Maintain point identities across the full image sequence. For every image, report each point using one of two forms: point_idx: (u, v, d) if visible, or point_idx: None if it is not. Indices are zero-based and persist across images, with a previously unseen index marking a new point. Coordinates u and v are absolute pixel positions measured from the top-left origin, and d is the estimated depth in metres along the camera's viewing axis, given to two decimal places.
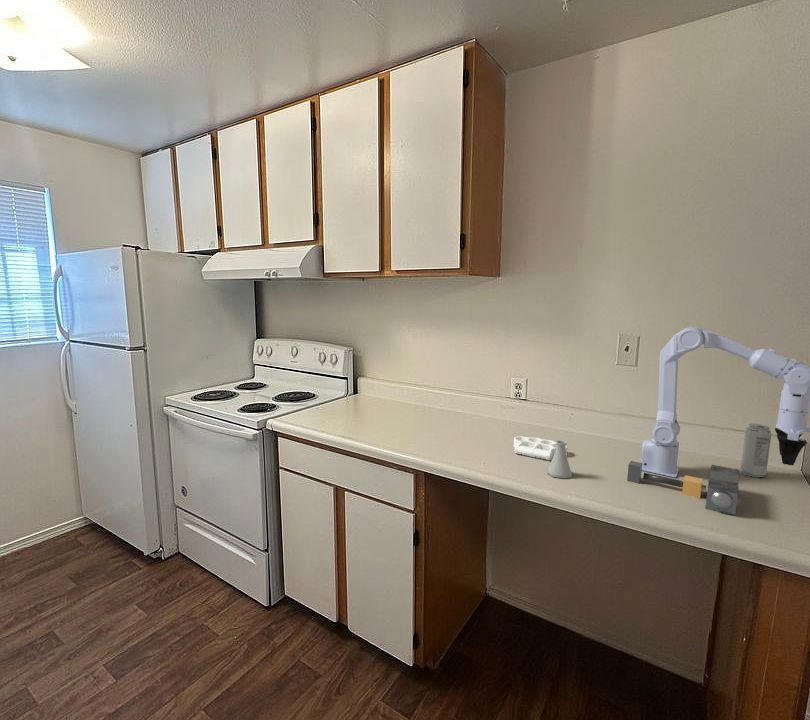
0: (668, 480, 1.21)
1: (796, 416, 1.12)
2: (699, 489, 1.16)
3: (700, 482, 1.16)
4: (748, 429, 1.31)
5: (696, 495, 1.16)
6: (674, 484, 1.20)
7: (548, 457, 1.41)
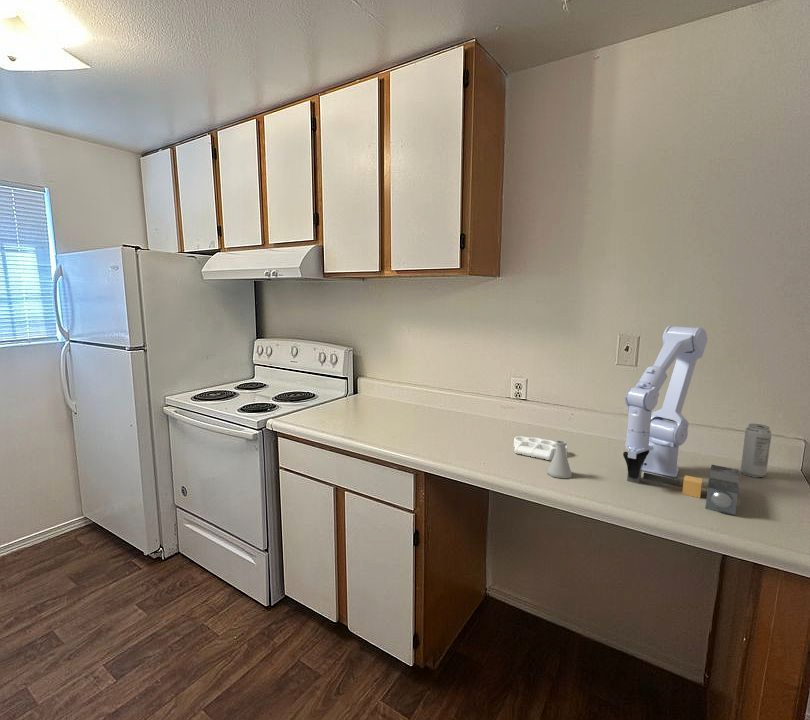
0: (668, 480, 1.21)
1: (638, 435, 1.23)
2: (699, 489, 1.16)
3: (700, 482, 1.16)
4: (748, 429, 1.31)
5: (696, 495, 1.16)
6: (674, 484, 1.20)
7: (548, 457, 1.41)
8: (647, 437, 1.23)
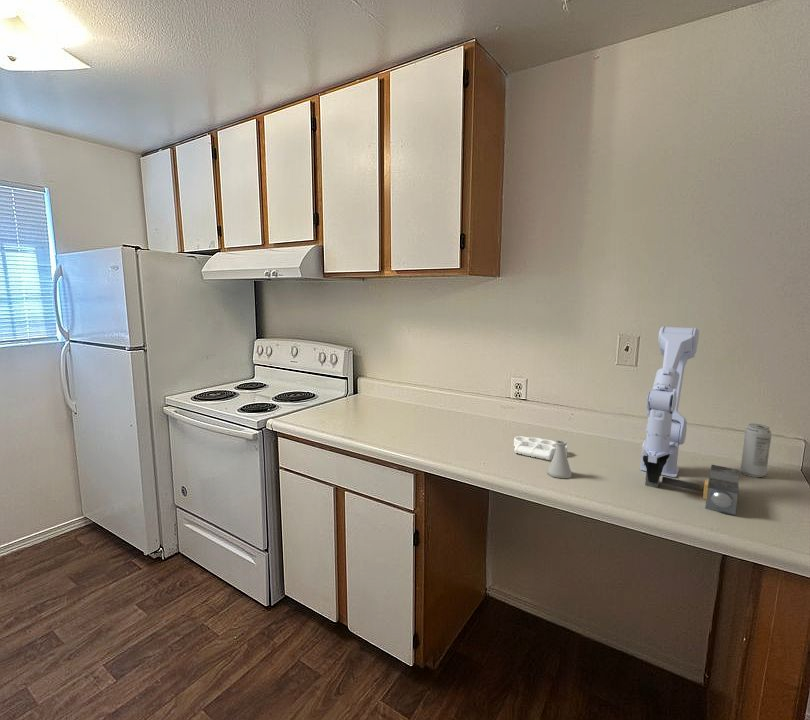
0: (688, 484, 1.18)
1: (658, 439, 1.20)
2: None
3: None
4: (748, 429, 1.31)
5: None
6: (694, 488, 1.18)
7: (548, 457, 1.41)
8: (668, 441, 1.20)
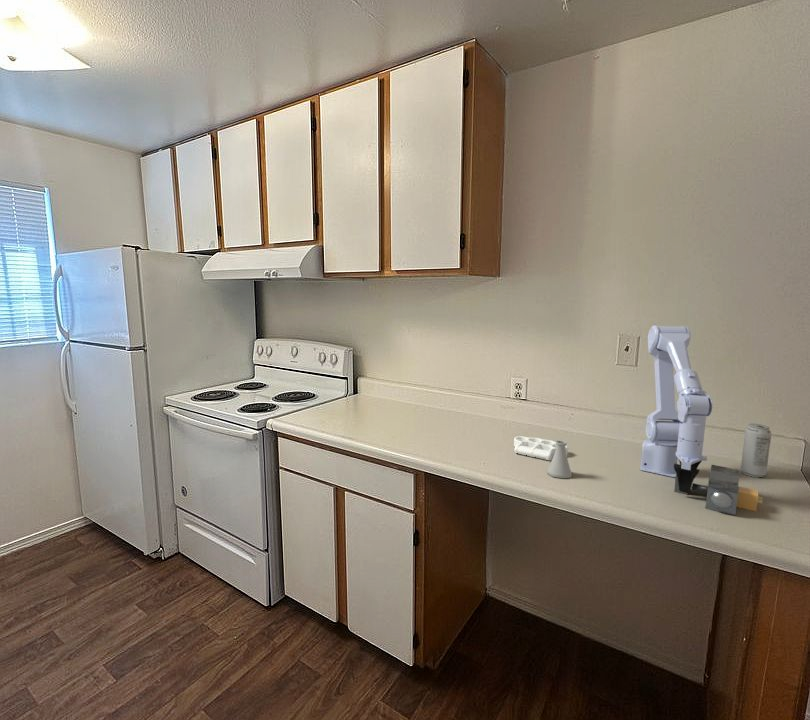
0: None
1: (691, 445, 1.15)
2: (755, 502, 1.09)
3: (756, 494, 1.09)
4: (748, 429, 1.31)
5: (752, 508, 1.10)
6: None
7: (548, 457, 1.41)
8: (701, 446, 1.15)
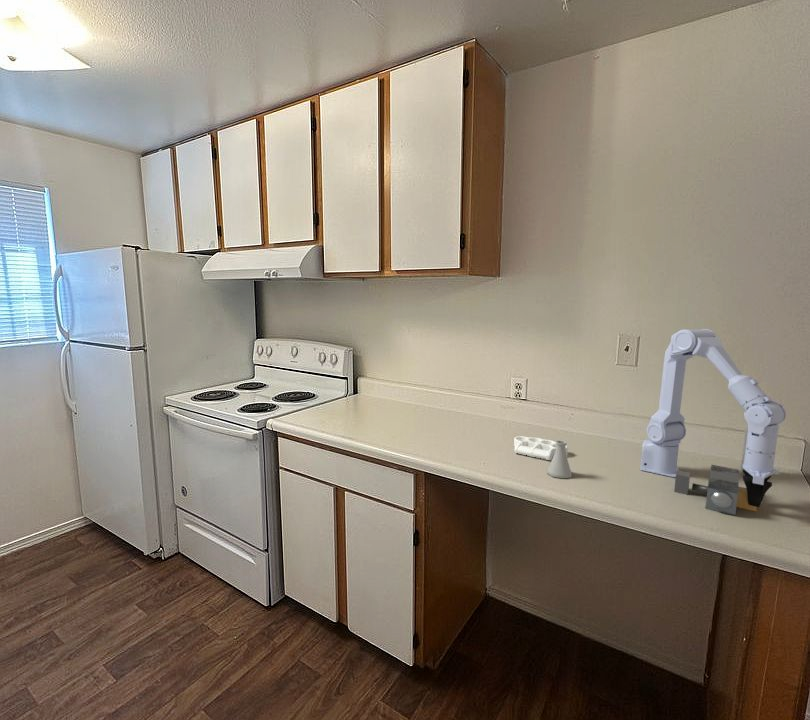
0: None
1: (763, 457, 1.07)
2: None
3: None
4: None
5: (752, 508, 1.10)
6: None
7: (548, 457, 1.41)
8: (773, 459, 1.07)
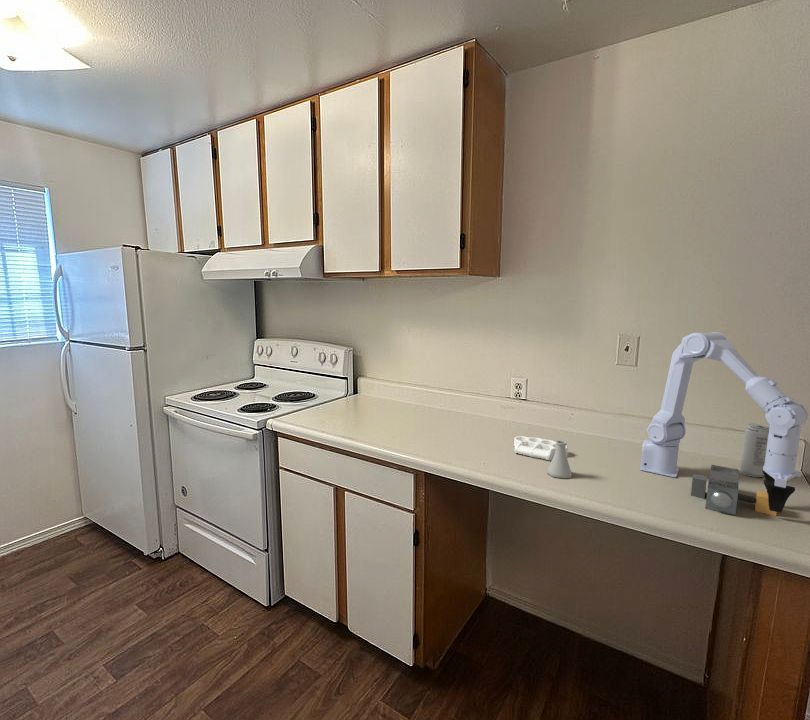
0: (738, 495, 1.12)
1: (784, 459, 1.04)
2: None
3: None
4: (748, 429, 1.31)
5: (772, 512, 1.07)
6: (745, 500, 1.11)
7: (548, 457, 1.41)
8: (795, 461, 1.04)
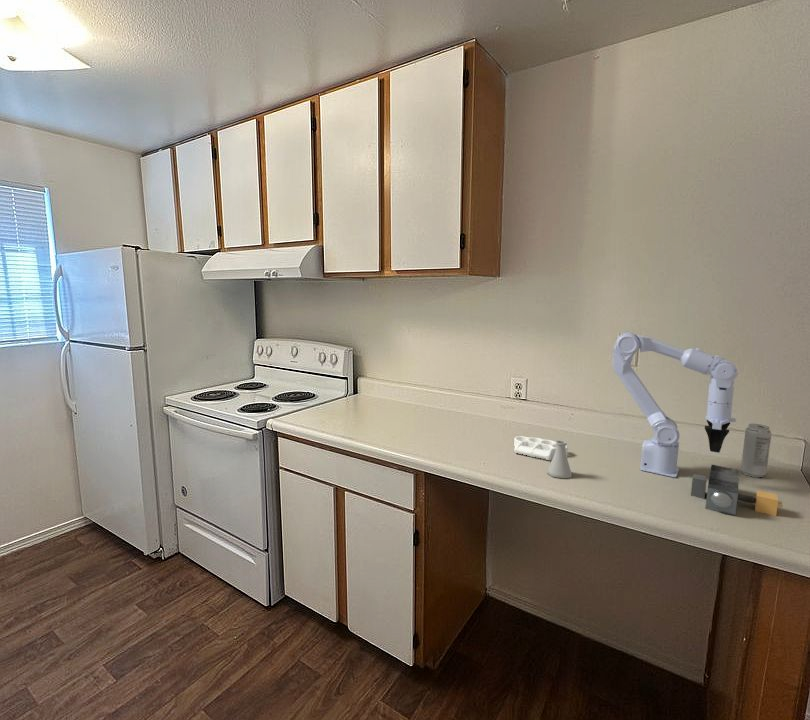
0: (738, 495, 1.12)
1: (721, 407, 1.23)
2: (775, 506, 1.07)
3: (776, 498, 1.07)
4: (748, 429, 1.31)
5: (772, 512, 1.07)
6: (745, 500, 1.11)
7: (548, 457, 1.41)
8: (730, 408, 1.23)
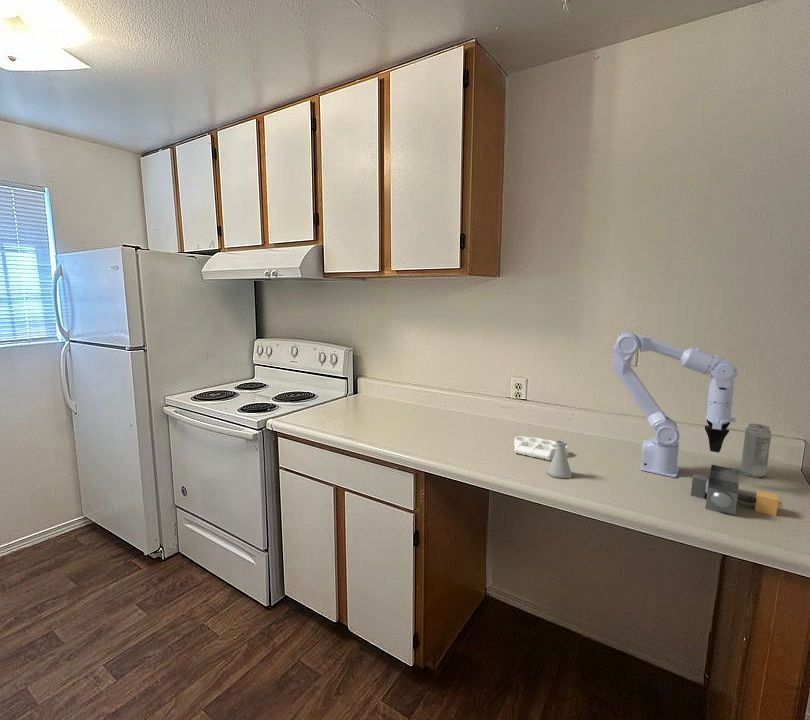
0: (738, 495, 1.12)
1: (721, 407, 1.23)
2: (775, 506, 1.07)
3: (776, 498, 1.07)
4: (748, 429, 1.31)
5: (772, 512, 1.07)
6: (745, 500, 1.11)
7: (548, 457, 1.41)
8: (730, 408, 1.23)
